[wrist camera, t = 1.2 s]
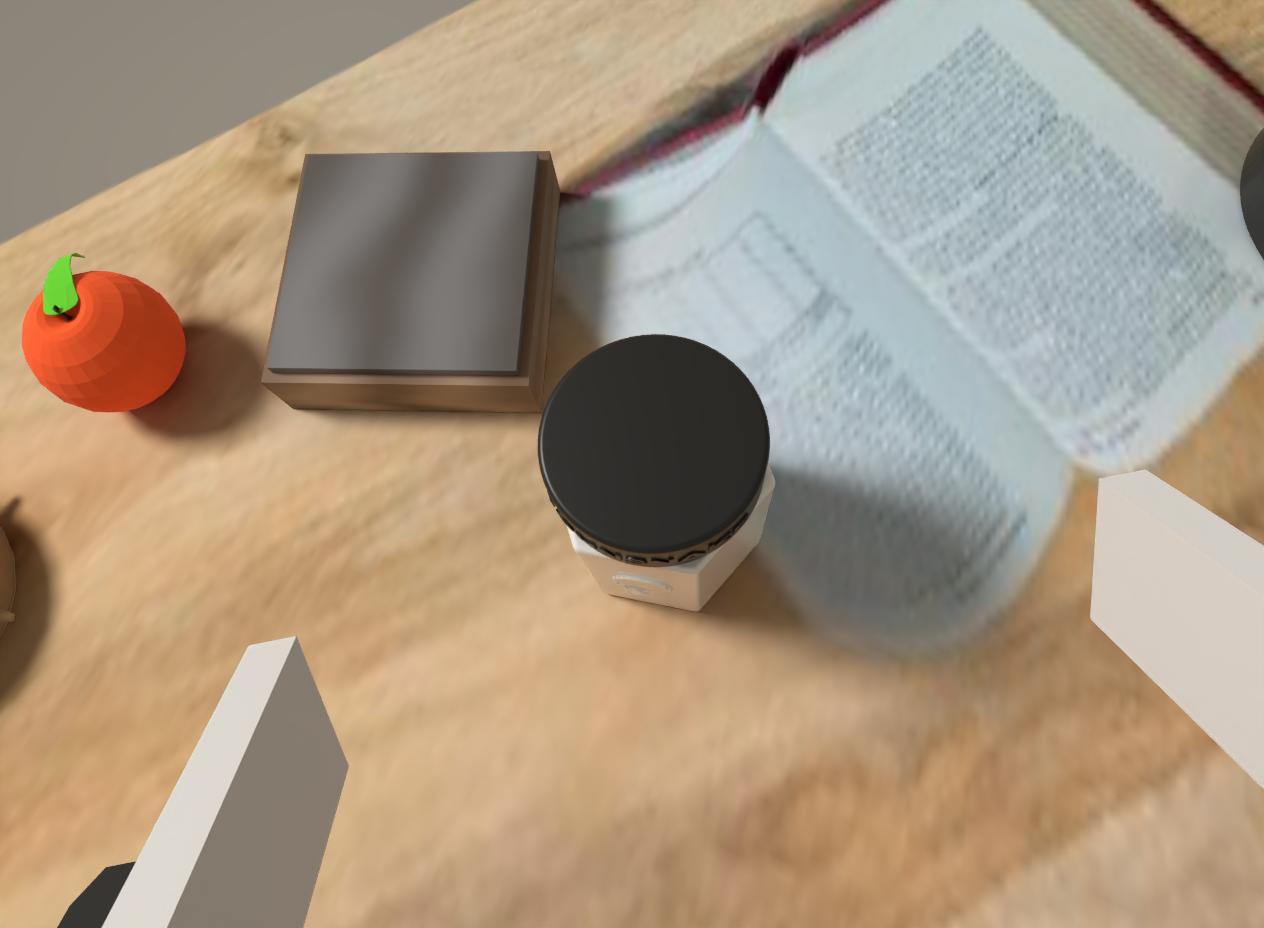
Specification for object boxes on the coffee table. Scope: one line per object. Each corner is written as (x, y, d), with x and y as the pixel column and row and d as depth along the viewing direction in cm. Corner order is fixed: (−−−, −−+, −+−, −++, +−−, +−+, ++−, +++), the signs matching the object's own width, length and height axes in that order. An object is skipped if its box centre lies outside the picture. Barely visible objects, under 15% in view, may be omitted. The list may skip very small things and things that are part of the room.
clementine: (77, 320, 47) (-27, 249, 41) (199, 280, 48) (115, 203, 41) (94, 450, 45) (-14, 397, 38) (222, 407, 45) (138, 347, 38)
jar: (556, 588, 41) (498, 528, 29) (594, 428, 43) (554, 314, 32) (745, 627, 39) (761, 578, 28) (774, 459, 42) (800, 352, 30)
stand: (560, 191, 47) (547, 143, 44) (541, 412, 43) (525, 380, 40) (331, 193, 49) (300, 146, 45) (292, 408, 45) (254, 377, 41)
